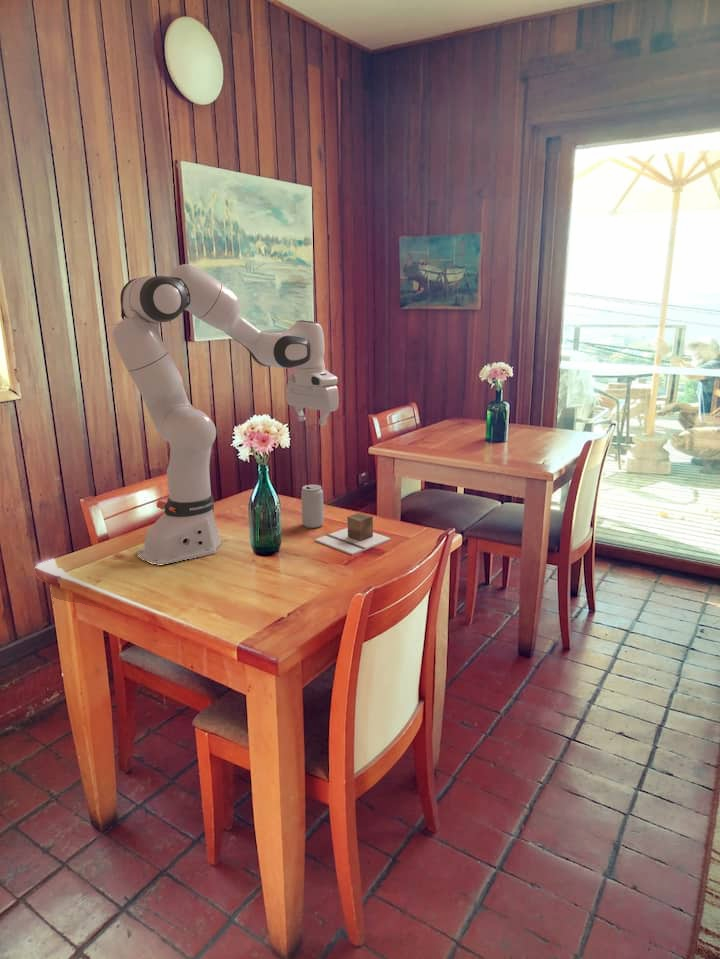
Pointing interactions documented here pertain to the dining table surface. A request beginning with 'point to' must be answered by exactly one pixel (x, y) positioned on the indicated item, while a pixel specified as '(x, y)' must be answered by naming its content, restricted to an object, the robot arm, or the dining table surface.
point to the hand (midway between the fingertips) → (312, 422)
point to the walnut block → (360, 526)
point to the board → (351, 541)
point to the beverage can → (312, 506)
